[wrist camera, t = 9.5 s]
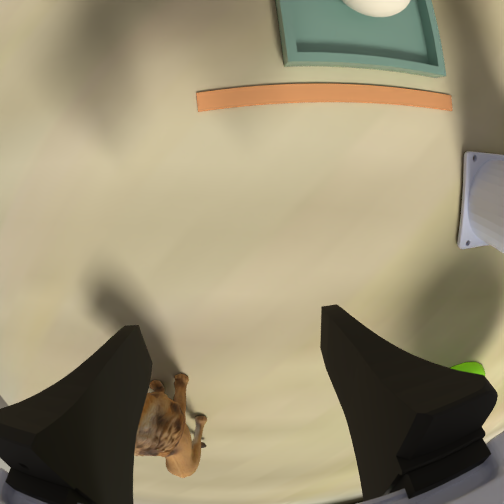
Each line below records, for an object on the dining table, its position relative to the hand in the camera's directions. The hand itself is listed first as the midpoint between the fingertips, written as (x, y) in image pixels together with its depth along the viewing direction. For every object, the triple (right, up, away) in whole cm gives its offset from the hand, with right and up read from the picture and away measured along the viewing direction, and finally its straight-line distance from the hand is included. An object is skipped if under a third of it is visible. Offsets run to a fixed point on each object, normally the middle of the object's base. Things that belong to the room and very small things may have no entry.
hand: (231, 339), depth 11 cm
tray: (+8, +20, +2) cm, 22 cm away
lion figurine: (-7, -11, +14) cm, 19 cm away
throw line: (+6, +13, +5) cm, 16 cm away
